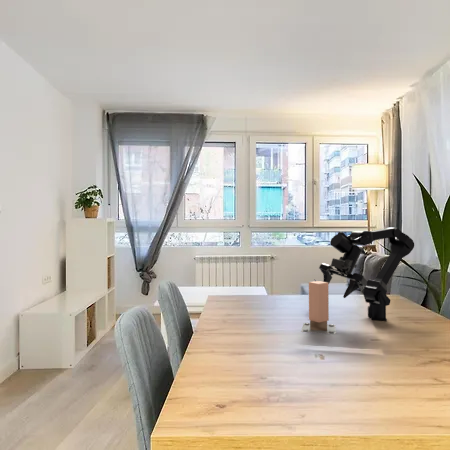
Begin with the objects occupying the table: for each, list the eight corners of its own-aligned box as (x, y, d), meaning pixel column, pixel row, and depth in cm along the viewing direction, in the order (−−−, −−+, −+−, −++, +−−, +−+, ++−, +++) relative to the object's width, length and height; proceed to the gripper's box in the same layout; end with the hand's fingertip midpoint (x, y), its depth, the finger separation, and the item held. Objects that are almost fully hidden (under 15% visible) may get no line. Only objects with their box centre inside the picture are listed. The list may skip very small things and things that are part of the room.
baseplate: (335, 328, 150) (335, 324, 150) (335, 337, 139) (335, 332, 139) (303, 326, 154) (303, 322, 154) (301, 335, 142) (301, 330, 142)
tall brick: (318, 317, 150) (318, 280, 149) (328, 320, 145) (328, 282, 145) (309, 319, 147) (308, 282, 147) (318, 322, 143) (318, 283, 143)
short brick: (327, 326, 148) (327, 318, 148) (327, 331, 143) (327, 322, 142) (310, 325, 150) (310, 317, 150) (310, 329, 144) (310, 321, 144)
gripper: (321, 244, 159) (305, 278, 156) (364, 256, 146) (347, 293, 142) (332, 256, 166) (316, 289, 163) (374, 268, 153) (358, 304, 150)
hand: (333, 293), depth 154 cm, fingers open, 9 cm apart
